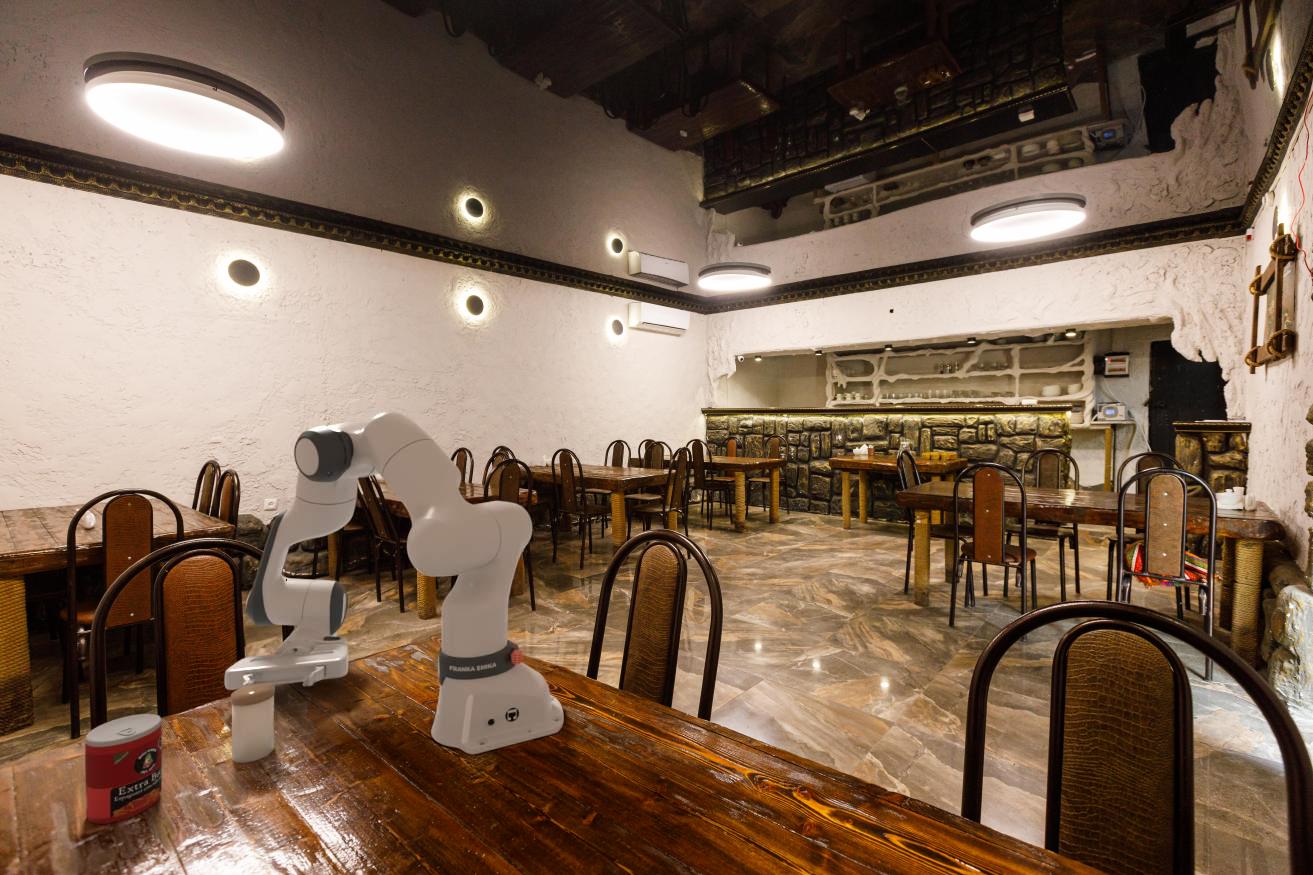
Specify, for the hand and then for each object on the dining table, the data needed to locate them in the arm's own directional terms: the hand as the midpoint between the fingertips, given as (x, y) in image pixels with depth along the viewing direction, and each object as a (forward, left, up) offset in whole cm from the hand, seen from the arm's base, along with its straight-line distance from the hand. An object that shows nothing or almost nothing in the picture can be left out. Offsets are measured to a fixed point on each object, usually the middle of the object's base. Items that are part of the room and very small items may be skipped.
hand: (277, 685), depth 103 cm
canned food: (+12, +22, -6) cm, 26 cm away
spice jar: (0, +12, -6) cm, 13 cm away
